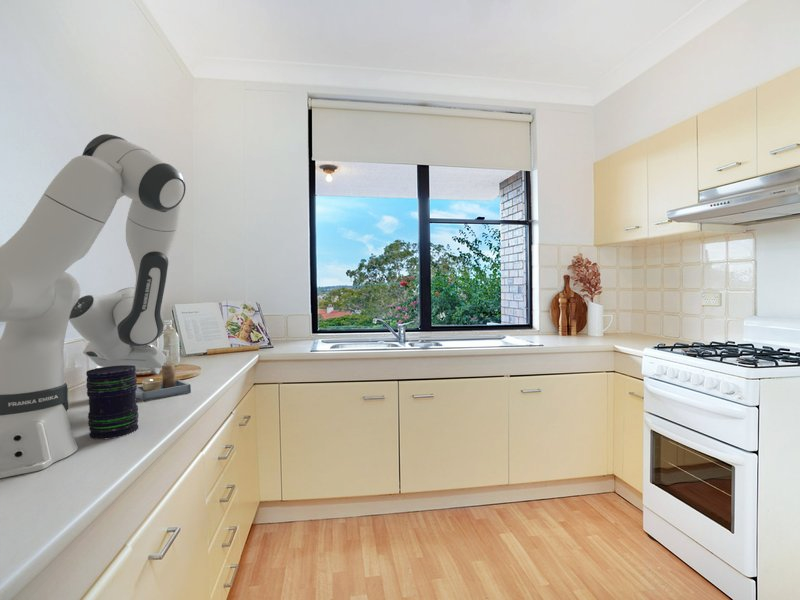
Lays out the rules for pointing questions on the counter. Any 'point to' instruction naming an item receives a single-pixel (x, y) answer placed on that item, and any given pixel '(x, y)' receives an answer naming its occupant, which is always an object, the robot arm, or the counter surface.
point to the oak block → (151, 385)
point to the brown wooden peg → (168, 376)
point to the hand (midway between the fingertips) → (143, 372)
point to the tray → (164, 391)
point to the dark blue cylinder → (112, 401)
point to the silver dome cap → (147, 380)
